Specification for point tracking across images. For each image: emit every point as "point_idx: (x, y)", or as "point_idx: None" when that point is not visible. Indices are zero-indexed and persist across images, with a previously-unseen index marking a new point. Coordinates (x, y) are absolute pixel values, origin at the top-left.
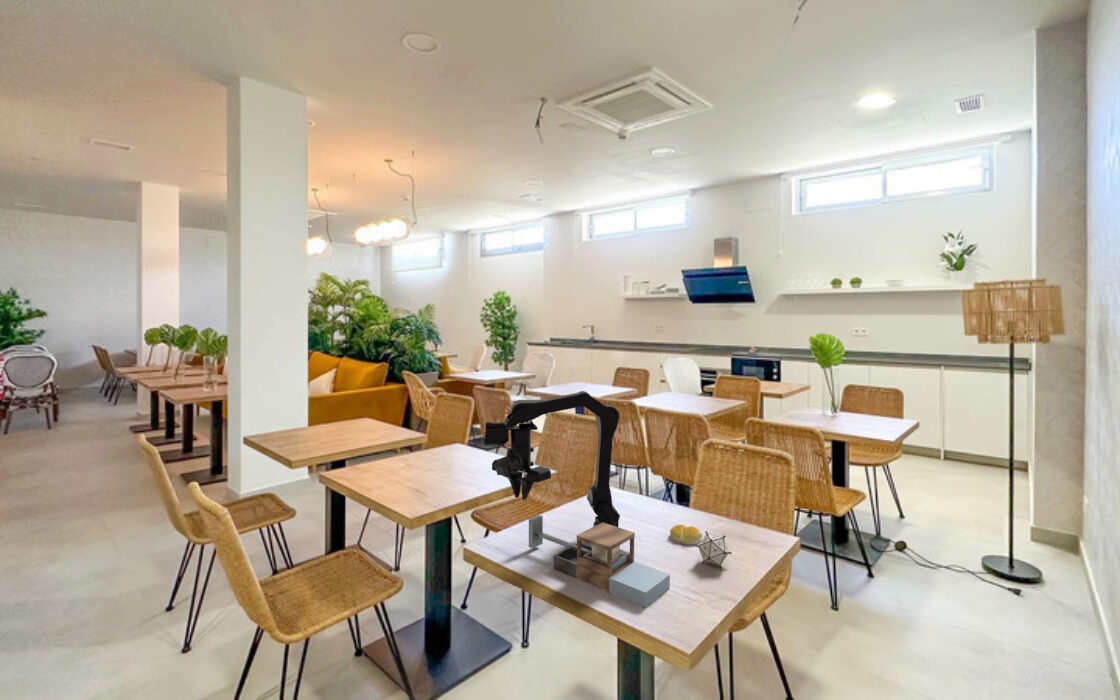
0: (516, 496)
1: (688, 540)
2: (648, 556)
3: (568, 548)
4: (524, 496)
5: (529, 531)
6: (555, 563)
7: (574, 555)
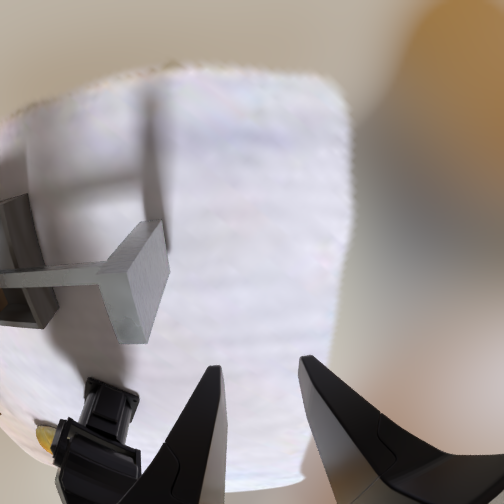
0: (302, 365)
1: (37, 430)
2: (17, 374)
3: None
4: (196, 393)
5: (140, 243)
6: (12, 199)
7: None
